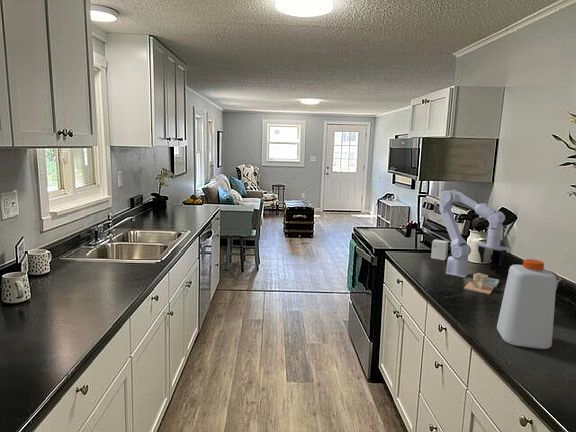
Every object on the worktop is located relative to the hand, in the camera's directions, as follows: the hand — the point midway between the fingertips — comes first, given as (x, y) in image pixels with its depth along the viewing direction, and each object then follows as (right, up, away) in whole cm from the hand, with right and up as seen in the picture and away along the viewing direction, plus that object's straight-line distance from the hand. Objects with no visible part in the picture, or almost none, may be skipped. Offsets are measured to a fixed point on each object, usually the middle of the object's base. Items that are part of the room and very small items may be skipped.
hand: (490, 264), depth 203 cm
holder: (-1, -9, +1) cm, 9 cm away
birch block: (-9, -10, -8) cm, 16 cm away
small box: (-10, -2, +42) cm, 44 cm away
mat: (-9, -11, -8) cm, 16 cm away
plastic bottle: (-17, -20, -58) cm, 63 cm away
